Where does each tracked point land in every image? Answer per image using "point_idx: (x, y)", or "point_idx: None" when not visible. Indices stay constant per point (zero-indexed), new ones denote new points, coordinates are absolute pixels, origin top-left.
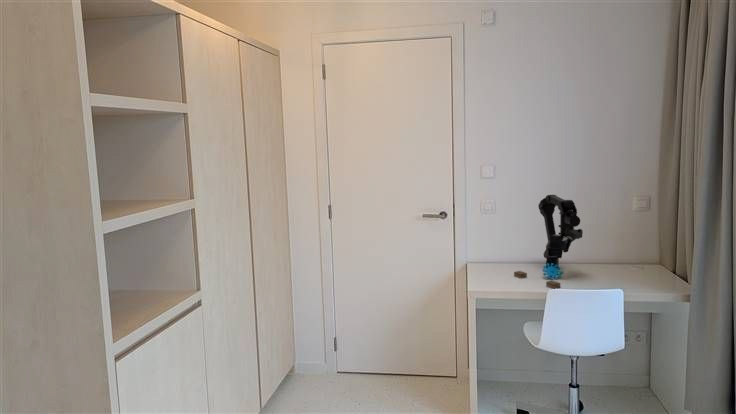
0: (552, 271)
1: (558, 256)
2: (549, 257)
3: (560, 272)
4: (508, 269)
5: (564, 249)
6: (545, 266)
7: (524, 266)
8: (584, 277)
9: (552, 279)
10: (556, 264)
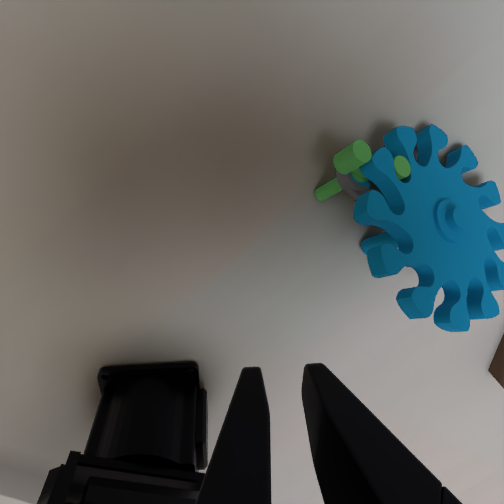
0: (458, 210)
1: (81, 483)
2: (194, 487)
3: (389, 159)
4: None
5: (368, 426)
6: (487, 303)
7: (277, 487)
8: (111, 10)
9: (462, 150)
10: (388, 272)
